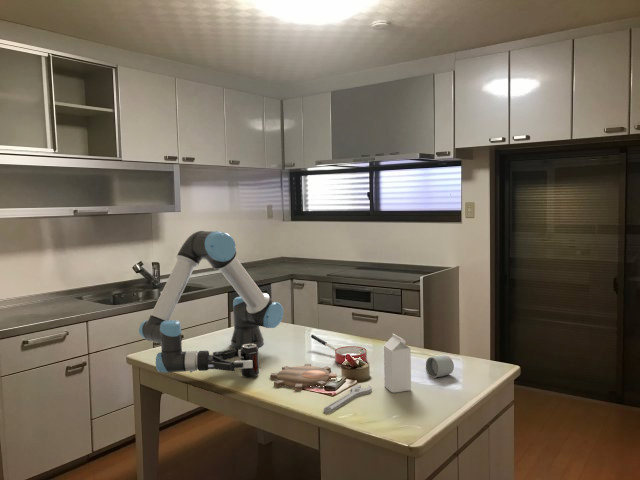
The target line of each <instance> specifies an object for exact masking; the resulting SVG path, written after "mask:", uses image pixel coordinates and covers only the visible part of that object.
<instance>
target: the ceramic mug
mask: <svg viewBox="0 0 640 480" xmlns="http://www.w3.org/2000/svg"><path fill="white" fill-rule="evenodd" d="M454 368H455V365H454V362H453V360H452V358H451V357H450V356H449V355H435V356H429V357H428V358H427V359H426V361H425V371H426V373H427V374H428V376H429V377H431V378H433V379H435V378H440V377H444V376H449V375H450V374H452V373H453V371H454Z"/></svg>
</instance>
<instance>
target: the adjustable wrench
mask: <svg viewBox="0 0 640 480" xmlns="http://www.w3.org/2000/svg"><path fill="white" fill-rule="evenodd" d="M361 386H362V385H361V384H357V385H354V386H352V387H350V389H349V390H350V391H349V393H347V394H345V395H344V396H342V397H340V398H339V399H337V400H335V401H333V402H331V403H330V404H327V406H324V408H323V413H324V414H331V413H333V412H334V411H336V410H337V409H339V408H340V407H343V406H344V405H345V404H347V403H349V402H350V401H352V400H354V399H355V398H357V397H359V396H363V395H367V394H370V393H372V389H373V387H372V386H371V385H367V387H361Z"/></svg>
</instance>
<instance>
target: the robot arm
mask: <svg viewBox="0 0 640 480" xmlns="http://www.w3.org/2000/svg"><path fill="white" fill-rule="evenodd" d="M176 259H177V260H176V263H174V267H173V269H172V271H171V273H170V275H169V276H168V278H167V281H166V283H165V284H164V287H163V288H162V291H161V293H160V295H159V297H158V299H157V301H156V304H155V305H154V308H153V310H152V311H151V313H150V316H149V318H148V319H147V320H144V321H143V322H141V323H140V325H139V327H138V333H139V336H140V337H141V338H143V339H144V340H147V341H148V342H150V341H151V342H154V343H157V344H160V347H161V351H160V352H157V354H156V356H155V368H156V369H155V370H157V372H158V373H168V374H169V373H177V372H178V373H180V372H183V373H184V372H189V373H192V372H197V371H198V372H202V371H203V372H204V371H208V370H218V371H226V372H235V369H236V370H237V369H240V370H241V368H253V362H252V360H246V361H241V360H235V361H231V360H232V359H234V358H237V357H238V358H241V349H242V345H244V344H256V345H257V346H256V347H257V348H260V347H262V346H263V345H264V342H265V341H264V337H263V333H262V332H261V328H260V327H263V328H266V329H274V328H276V327H278V326H279V325H280V324H281V322H282V321H283V317H284V308H283V307H284V306H282V304H281V303H280V302H278V301H273V299H272V298H271V297H270V295H269V294H268V293H267V292H262V290H261V289H260V288H259V286H258V285H257V284H256V282H255V281H254V280H253V278H252V276H250V274H249V273H248V272H247V270H246V268H245V267H244V266H243V265H242V263H241V262H240V260H239V259H238V258H237V249H236V242H235V240H234V237H232V236H231V235H230V234H229V233H227V232H224V231H217V230H216V231H212V230H211V231H209V230H207V231H205V230H198V231H196V232H193V233H192V234H190V235H189V237H187V238H186V240H185V241H184V243H182V246H181V247H180V249H179V251H178V253H177V255H176ZM203 260H205V261H207V262H208V263H209V264H210V266H211V267H212V268H213V269H214V270H219V272H221V274H222V275H223V277H224V278H225V279H226V281H228V283H229V284H230V286H231V287H233V289H234V291H235V292H236V293H237V294H238V296H237V297H235V298H233V301H232V308H233V309H232V310H233V314H232V315H233V326H234V327H233V328H234V329H233V332H232V336H231V340H230V347H231V349H226V350H221V351H213V352H212V354H210V352H209V350H199V351H198V350H191V351H190V350H188V351H186V350H185V351H183V347H182V345H183V344H182V343H183V342H182V329H181V328H182V326H181V322H180V321H179V320H177V319H176V320H175V319H172V320H171V318H172V315H173V313H174V311H175V309H176V307H177V305H178V303H179V300H180V299H181V296H182V295H183V292H184V291H185V288H186V286H187V283H188V282H189V279H190V278H191V276H192V273H193V271H194V269H195V268H196V267H198V266H199V264H200V263H201V261H203Z"/></svg>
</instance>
